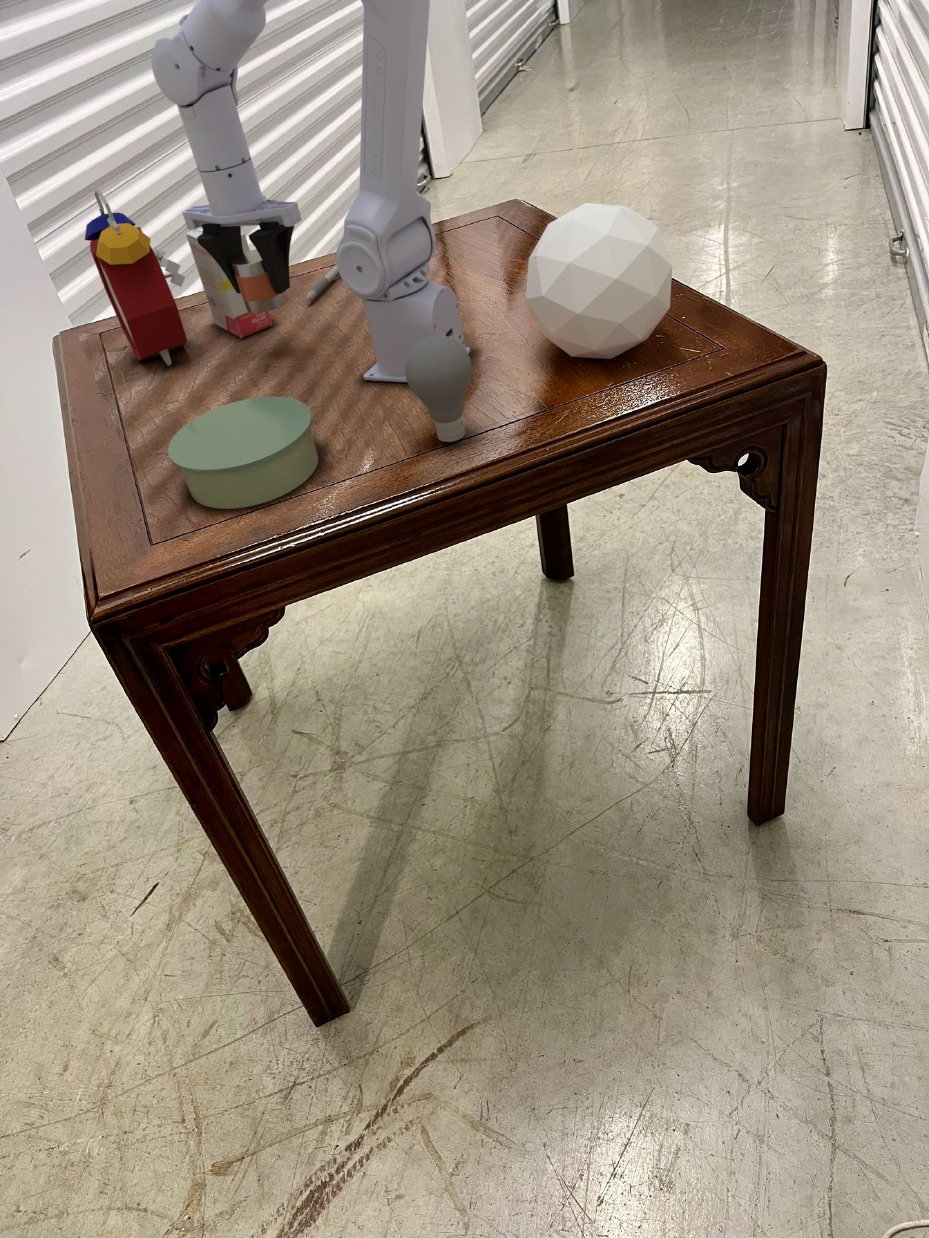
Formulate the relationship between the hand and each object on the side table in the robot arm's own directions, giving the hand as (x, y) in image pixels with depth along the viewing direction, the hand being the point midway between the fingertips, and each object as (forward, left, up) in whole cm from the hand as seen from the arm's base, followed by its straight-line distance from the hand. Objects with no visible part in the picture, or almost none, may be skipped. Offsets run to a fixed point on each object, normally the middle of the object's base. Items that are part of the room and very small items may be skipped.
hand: (263, 290), depth 108 cm
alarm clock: (+17, +1, -8) cm, 19 cm away
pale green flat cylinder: (-14, +25, -8) cm, 30 cm away
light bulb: (-31, +16, -8) cm, 36 cm away
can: (0, 0, -2) cm, 2 cm away
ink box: (+11, -7, -8) cm, 15 cm away
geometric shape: (-39, -4, -8) cm, 40 cm away
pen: (+6, -20, -8) cm, 22 cm away
